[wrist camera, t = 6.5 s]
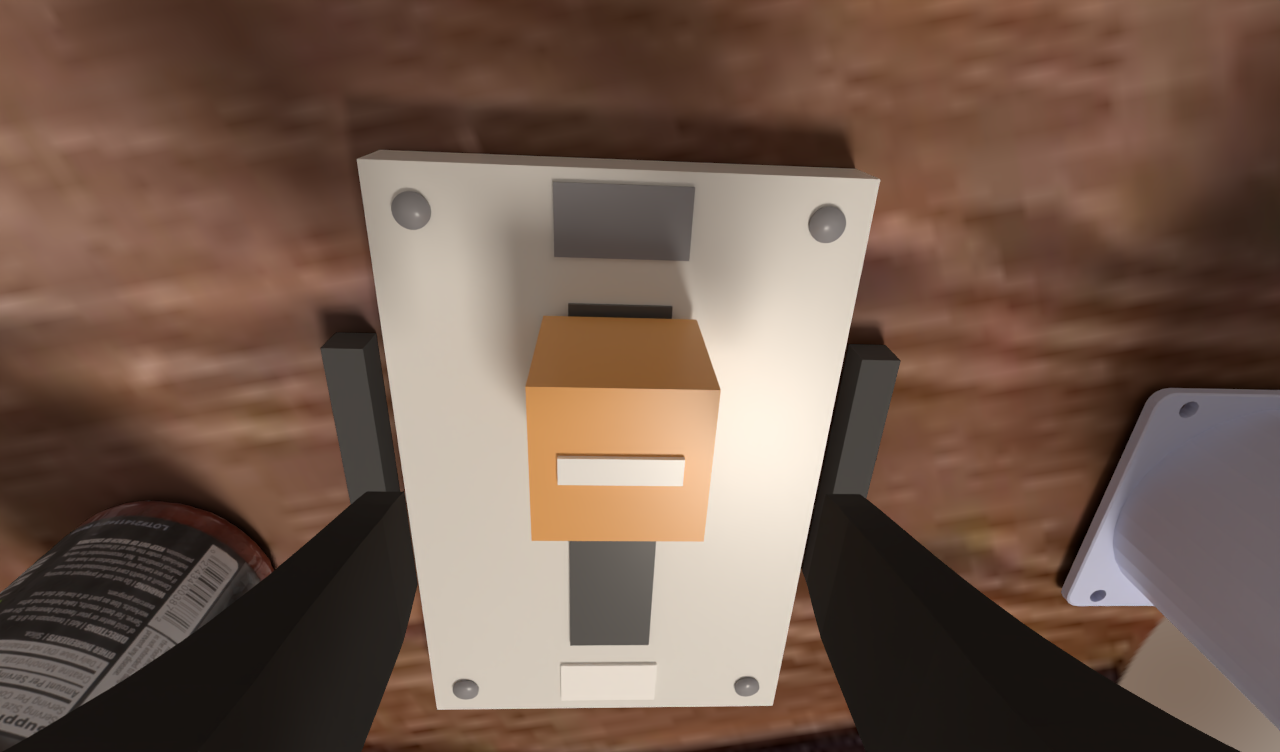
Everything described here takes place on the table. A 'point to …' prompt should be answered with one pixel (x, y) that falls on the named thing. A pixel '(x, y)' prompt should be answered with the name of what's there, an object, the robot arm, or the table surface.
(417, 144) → the table surface
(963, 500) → the table surface
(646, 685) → the panel
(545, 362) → the orange cube
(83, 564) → the supplement bottle
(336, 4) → the table surface
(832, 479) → the twin dark grey rails
